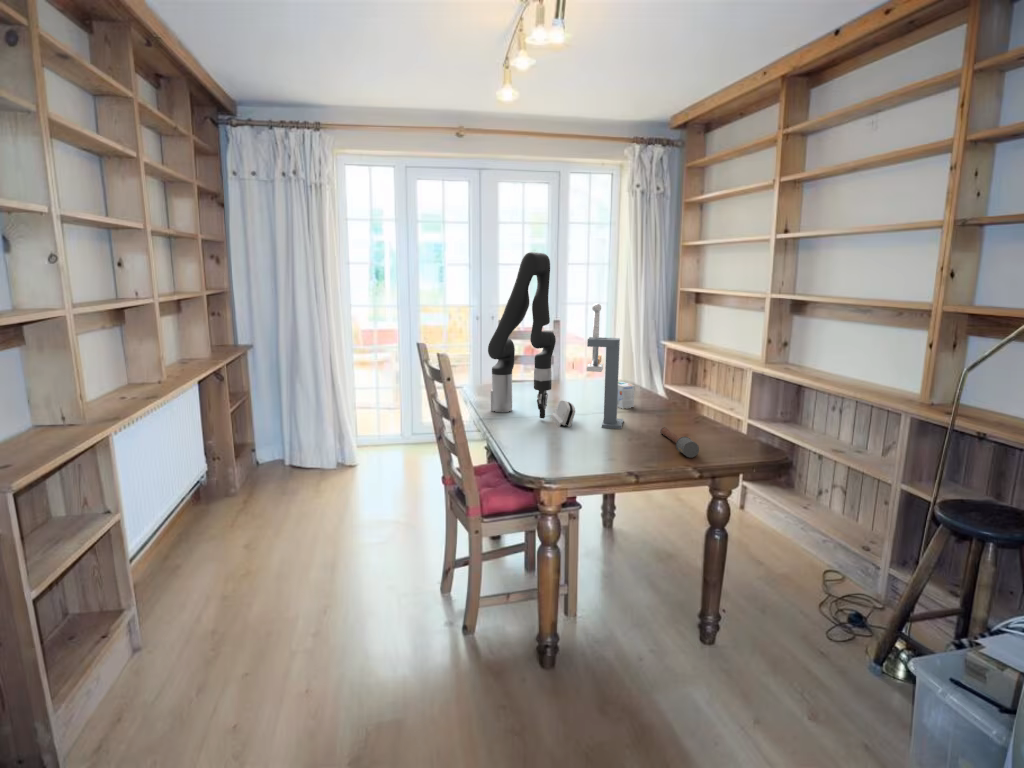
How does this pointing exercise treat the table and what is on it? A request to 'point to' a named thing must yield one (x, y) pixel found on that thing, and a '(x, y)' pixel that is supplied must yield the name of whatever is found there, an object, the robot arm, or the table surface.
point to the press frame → (610, 380)
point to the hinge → (564, 414)
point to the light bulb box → (625, 395)
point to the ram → (596, 358)
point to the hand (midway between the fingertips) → (542, 417)
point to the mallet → (682, 443)
